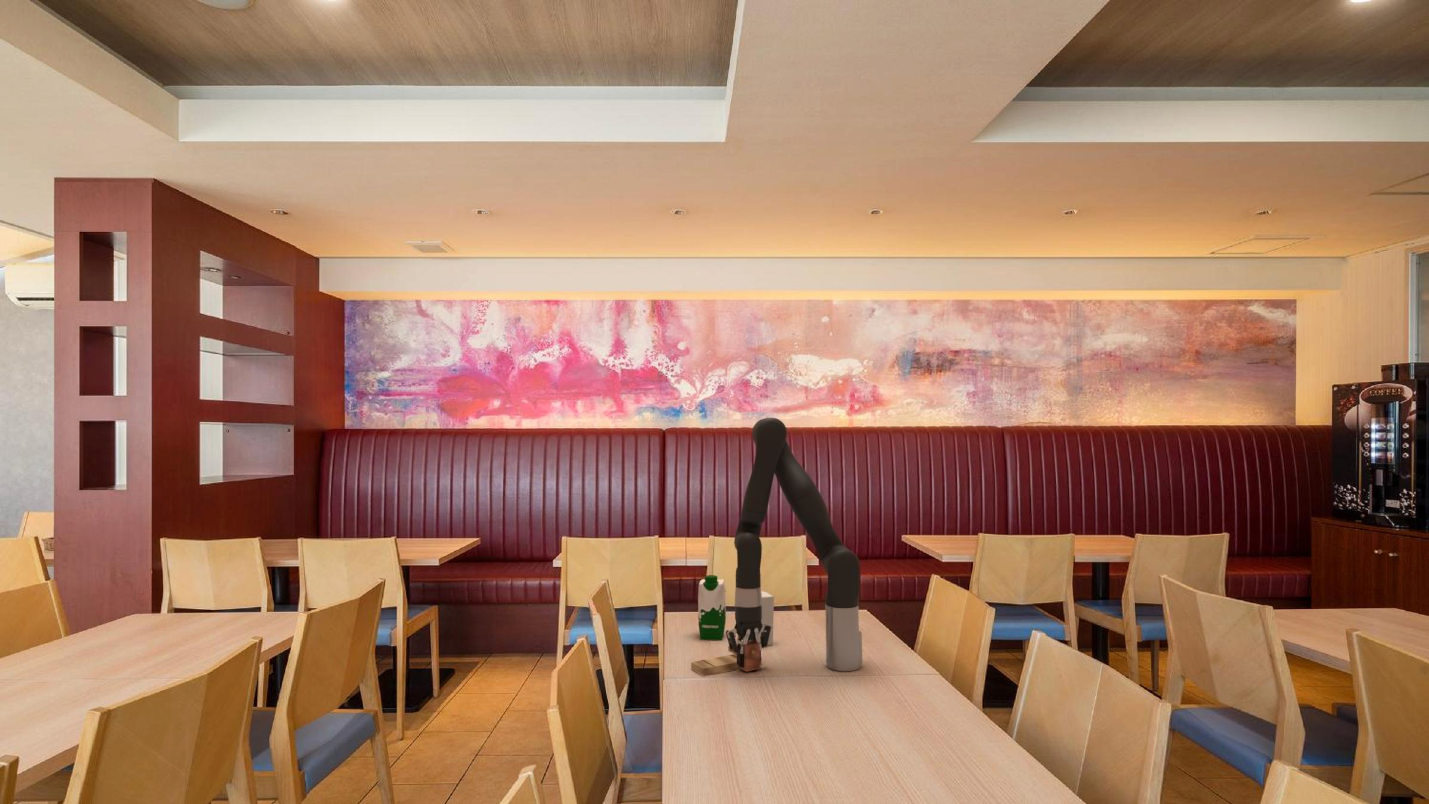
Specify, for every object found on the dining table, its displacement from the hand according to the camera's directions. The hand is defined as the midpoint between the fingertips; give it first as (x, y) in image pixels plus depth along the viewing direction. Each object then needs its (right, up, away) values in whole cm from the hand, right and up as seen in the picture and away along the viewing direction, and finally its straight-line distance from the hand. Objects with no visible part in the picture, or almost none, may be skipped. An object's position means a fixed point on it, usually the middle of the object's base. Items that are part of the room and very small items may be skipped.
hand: (748, 664), depth 205 cm
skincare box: (+4, -3, +27) cm, 27 cm away
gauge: (-2, -1, +3) cm, 4 cm away
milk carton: (-10, -3, +34) cm, 36 cm away
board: (-6, -2, +3) cm, 7 cm away
